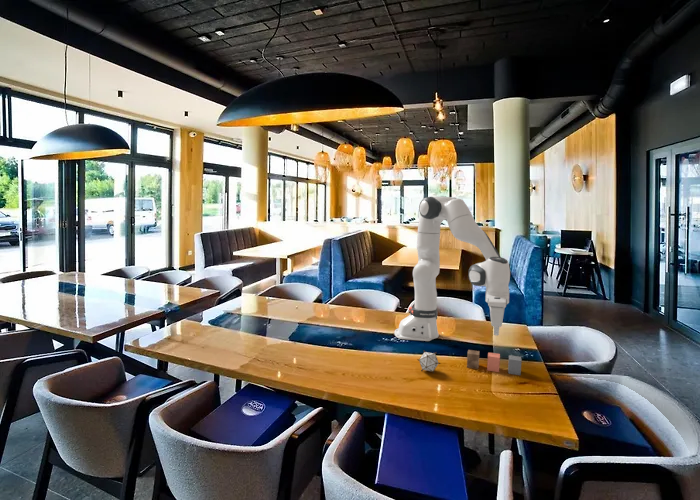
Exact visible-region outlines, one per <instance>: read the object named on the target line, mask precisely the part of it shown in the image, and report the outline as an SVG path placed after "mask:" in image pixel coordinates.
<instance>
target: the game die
mask: <svg viewBox="0 0 700 500" xmlns="http://www.w3.org/2000/svg"><path fill="white" fill-rule="evenodd" d="M436 354H437V351H436V352H433V353H432V352H429V351H428V352H427V351H425V350H423V353H422V354H421V357H420V358H419V359H418V358H417V359H416V360H417V361H418V362H419V364H420V367H421V370H420V372H423V371H426V372H427V371H428V372H432V374H435V370H436V368H438V365H440V364H442V363H441V362H439V360H438V357H437V355H436Z"/></svg>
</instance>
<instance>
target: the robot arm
mask: <svg viewBox="0 0 700 500" xmlns="http://www.w3.org/2000/svg"><path fill="white" fill-rule="evenodd" d="M418 210H419V215H420V216H419V220H418V226H417V234H416V235H417V236H416V237H417V240H416V250H417V258H418V261H417V263H416V264H415V265H414V267H413V269H412V278H413V288H414V306H413V307H412V306H409V307H408V311H409V313H410V314H409V315H407V316H406V317H404V318H402V319H401V320H400V322H399V325H398V328H396V329H395V330H394V336H395V337H396V338H398V339H400V340H409V341H421V342H424V341H425V342H430V341H432V340H434V339H437V338H438V337H440V334H439V331H438V324H437V323H438V321H437V320H438V308H437V307H438V306H437V305H438V304H437V302H438V299H437V298H438V292H437V282H436V281H437V280H436V278H437V276H438V275H439V274H440V270H441V269H440V266H441V263H440V260H441V259H440V244H441V243H440V241H441V226H442V225H441V224H442V222H444V221H446V223H447V224H448V227H449V231H450V233H451V234H452V235H453V237H454V238H455V239H456V240H458V241H461V242H464V243H467V244H471V245H473V246H475V247H476V248H478V249H479V251H480V253H481V254H482V255H483V257H484V259H485V260H484V261H482V262H477V263H475V264H472V265H471V266H470V267H469V269H468V275H467V277H468V280H469V282H470V283H471V285H473V286H475V287H485V302H486V303H487V306H488V307H489V315H490V322H491V326H492V327H493V335H494V336H497V337H498V336H499V335H500V327H502V326H503V319H504V314H505V308H506V307H507V305H508V304H509V303H510V288H509V286H510V285H509V284H510V281H511V280H510V278H511V269H510V263H509V261H508V259H506V258H504V257H501V255H500V253H499V252H498V250H497V248H496V247H495V245H494V243H493V241H492V240H491V238H490V237H489V235H488V234H487V233H486V231H484V230H483V229H482V228H481V227H480V226H479V224H478V223H477V222H476V220H475V219H474V216H473V214H472V212H471V210H470V208H469V207H468V205H467V203H466V202H465V201H464V200H463V199H461V198H459V197H458V198H457V197H453V196H452V197H451V196H427V197H423V198H422V199H421V201H420V203H419V207H418Z"/></svg>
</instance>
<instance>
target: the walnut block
mask: <svg viewBox="0 0 700 500" xmlns="http://www.w3.org/2000/svg"><path fill="white" fill-rule="evenodd" d="M466 357H467V358H466V368H469V369H476V370H478V369H479V366H480V364H479V363H480V350H473V349H468V350H467V356H466Z"/></svg>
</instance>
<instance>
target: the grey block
mask: <svg viewBox="0 0 700 500" xmlns="http://www.w3.org/2000/svg"><path fill="white" fill-rule="evenodd" d="M507 366H508V367H507V373H508V374H509V375H516V376H521V375H522V374H521V373H522V356H518V355H510V354H509V355H508V364H507Z"/></svg>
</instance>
